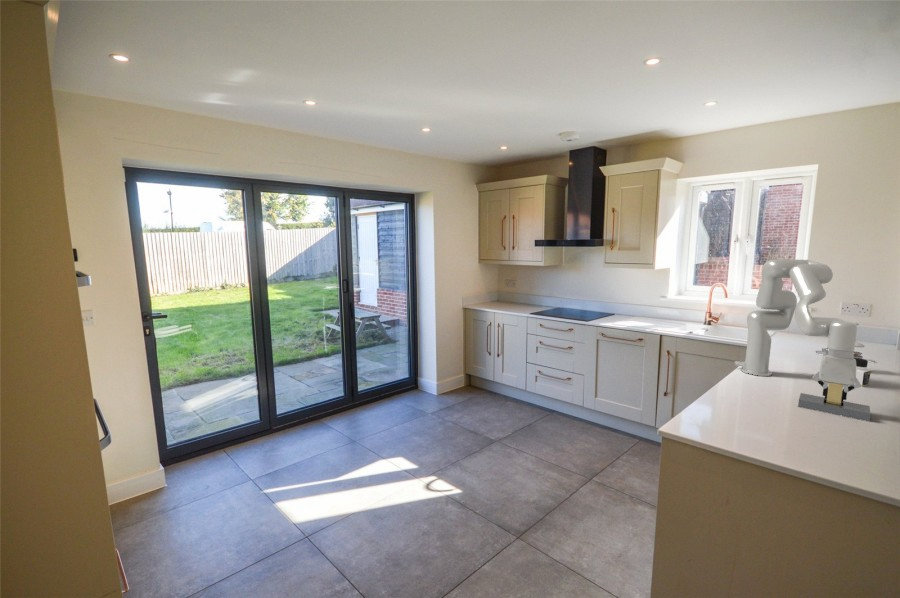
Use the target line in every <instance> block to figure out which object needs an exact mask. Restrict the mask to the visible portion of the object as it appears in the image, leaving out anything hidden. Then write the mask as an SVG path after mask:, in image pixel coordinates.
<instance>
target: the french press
mask: <svg viewBox="0 0 900 598" xmlns="http://www.w3.org/2000/svg"><path fill="white" fill-rule="evenodd" d="M854 323H855V324H856V325H857V326H859V325H860V324H859V323H858V322H854ZM864 347H865V345H864V344H863V343H861V342H858V341H855V348H864ZM853 358H863V353H862V352H860V351H854V355H853ZM863 359H864V358H863Z"/></svg>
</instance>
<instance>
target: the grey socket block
mask: <svg viewBox="0 0 900 598" xmlns="http://www.w3.org/2000/svg"><path fill="white" fill-rule="evenodd" d="M826 401H827V399H825V396H820V395H813V394H807V393H803V392H800V394H799V398H798V403H797V407H798V408H802V407H803V408H802V409H807V410H812V409H813V410H812V411H816V410H819V411H818V412H821V411H823V412H822V413H826V412H828V413H827V414H831V413H832V414H831V415H836V416H840V415H842V417H845V416H846V418H850V417H852V418H851V419H855V418H856V419H857V420H860V419H861V421H864V420H866V421H865V422H869V421H870V420H871V405H867V404H860V403H855V402H852V401H851V402H849V401H847V400H843V402H841V405H840V406H838V405H833V404H827V403H826ZM870 422H871V421H870Z"/></svg>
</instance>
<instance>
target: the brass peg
mask: <svg viewBox="0 0 900 598" xmlns="http://www.w3.org/2000/svg"><path fill="white" fill-rule="evenodd" d="M843 389H844V387H843V385H842V384H836V383H830V382H829V383H828V394H827V401H826V403H827V404H833V405H838V406H840V405H841V398H842V391H843Z"/></svg>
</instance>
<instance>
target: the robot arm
mask: <svg viewBox="0 0 900 598" xmlns="http://www.w3.org/2000/svg"><path fill="white" fill-rule="evenodd" d="M833 276H834V273H833V270H832V268H831V267H830V266H828V265H827V264H824V263H821V262H816V261H813V260H810V259H782V258H780V259H777V258H776V259H770V260H767V261H766V262H765V263H764V264H763V266H762V269H761V282H760V285H759V288H758V292H757V296H756V301H755V304H756V307H757V308H759V309H760V310H758V309H757V310H753V311H751V312H749V313H748V315H747V316H746V317H747V318H746V323H747V341H746V342H747V343H746V352H745V361H738V360H737V361H736V360H735V361H734V365H735V366H737V367H740V371H741V372H743V373H744V374H748V373H749V374H748V375H752V374H753V375H752V376H757V375H758V376H759V377H770V376H772V375H773V372H772V371H771V370H769V366H770V358H771V357H770V356H771V349H772V337H771V335H770V334H769V332H768V331H783V330H784V331H785V330H787V329H788V328H789V327H790V326H791V322H792V319H793V317H794V319H795V321H796V324H797V327H798V328H799V331H800V332H801V333H802V334H804V335H805V336H809V337H828V339H827V346H826V347H825V348H821V351H822V352H825V353H826V355H822V359H821V362H820V367H819V371H818V372H817V373H815V374H814V375H812V380H813V381H815V382H816V383H818V384H819V386H820V387H822V388H823V391H822V397H825V399H827V394H828V386H829V382H830V383H836V384H842V385H843V390H842V398H841V402H843V401H847V396H848V393H849V392H850V391H853V390H855V389H859V388H862V387H861V384H860V382H859V381H858V379H857V378H856V360H855V359H854V358H853V355H854V352H855V348H856V347H855V342H856V340H857V339H856V338H857V331H858V325H856V324H855V323H856V322H851V321H845V320H843V319H841V318H838V317H818V316H817V317H813V316H812V315H811V312H810V309H809V305H812V304H815V303H817V302H820V301H822V300H823V299H824V298H825V297H826V296H827V292H826V290H825V288H824V287H823V285H824V284H829V283H830V282H831V281H832V279H833ZM783 279H790V280H791V281H792V284H793V287H794V289H795V291H796V292H797V293H796V294H797V295H798V297H797V295H796V294H795V293H794V292H793V291H791V290H786V289H784V290H783V287H784V280H783ZM798 298H799V301H798ZM761 309H762V310H761Z"/></svg>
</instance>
